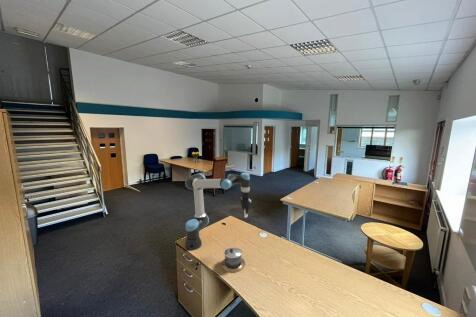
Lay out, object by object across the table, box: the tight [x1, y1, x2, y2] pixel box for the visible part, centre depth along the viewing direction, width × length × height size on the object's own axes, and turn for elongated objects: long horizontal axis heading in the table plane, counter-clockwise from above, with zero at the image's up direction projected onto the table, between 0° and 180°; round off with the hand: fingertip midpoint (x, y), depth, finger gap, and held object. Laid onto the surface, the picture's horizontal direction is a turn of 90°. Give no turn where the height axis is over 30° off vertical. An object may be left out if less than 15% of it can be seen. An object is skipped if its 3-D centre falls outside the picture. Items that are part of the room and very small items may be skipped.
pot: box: [220, 255, 246, 274], centre depth 167 cm, size 19×19×9 cm
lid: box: [224, 247, 243, 259], centre depth 166 cm, size 14×14×2 cm
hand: (245, 216), depth 182 cm, fingers closed
